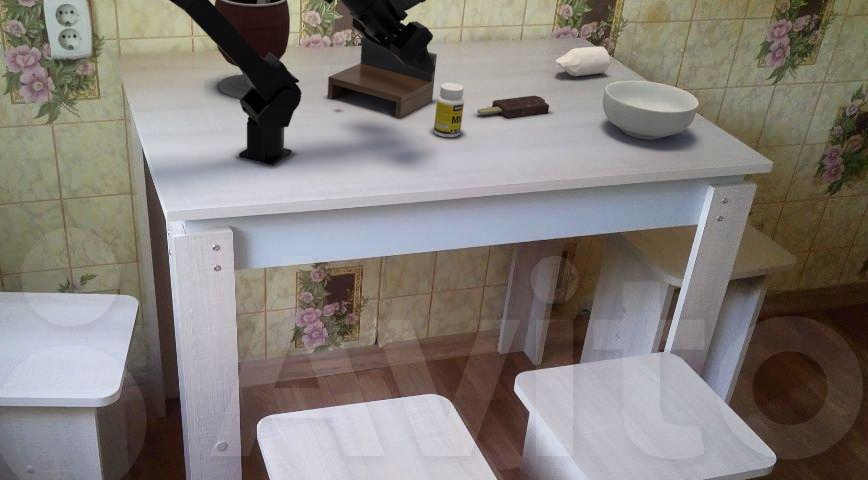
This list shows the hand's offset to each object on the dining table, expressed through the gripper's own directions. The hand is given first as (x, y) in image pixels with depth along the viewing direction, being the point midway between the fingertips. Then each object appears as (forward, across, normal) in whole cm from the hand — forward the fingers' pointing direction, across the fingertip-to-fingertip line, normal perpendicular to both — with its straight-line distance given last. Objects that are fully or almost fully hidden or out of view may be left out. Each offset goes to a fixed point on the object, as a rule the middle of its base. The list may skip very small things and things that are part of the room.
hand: (419, 63), depth 164 cm
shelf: (+11, +18, +8) cm, 23 cm away
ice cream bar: (+26, +6, -8) cm, 28 cm away
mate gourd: (-3, +32, +22) cm, 39 cm away
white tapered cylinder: (+44, +20, -25) cm, 55 cm away
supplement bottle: (+14, 0, +5) cm, 15 cm away
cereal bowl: (+40, -10, -21) cm, 46 cm away
